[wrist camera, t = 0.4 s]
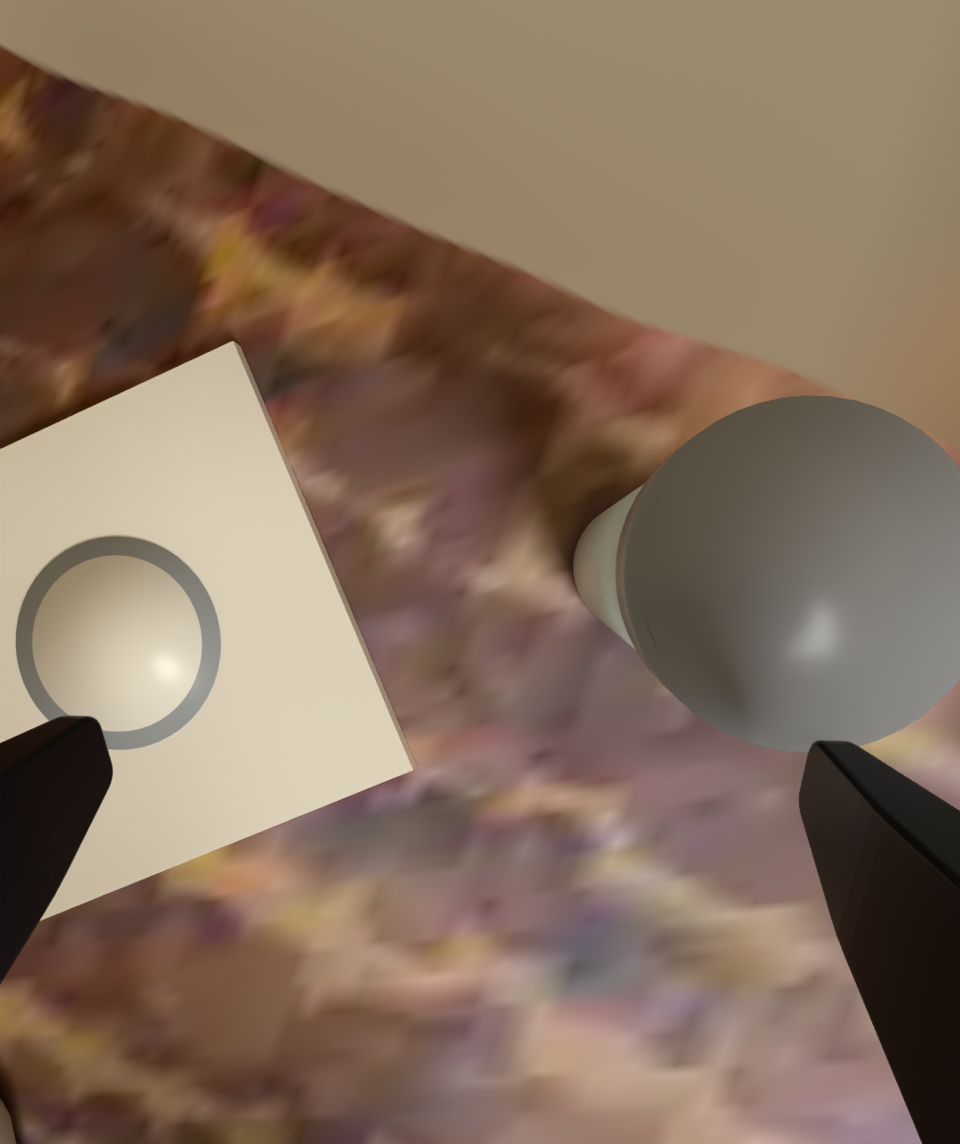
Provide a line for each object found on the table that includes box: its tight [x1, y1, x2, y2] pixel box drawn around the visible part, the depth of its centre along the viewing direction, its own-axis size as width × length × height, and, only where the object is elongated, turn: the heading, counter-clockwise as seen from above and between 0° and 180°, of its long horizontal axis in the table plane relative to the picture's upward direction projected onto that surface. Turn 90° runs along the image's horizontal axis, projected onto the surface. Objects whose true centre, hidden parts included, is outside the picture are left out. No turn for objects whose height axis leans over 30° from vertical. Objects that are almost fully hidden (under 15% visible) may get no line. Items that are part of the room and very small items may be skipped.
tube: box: [573, 396, 960, 753], centre depth 16 cm, size 5×5×14 cm
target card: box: [0, 341, 416, 920], centre depth 24 cm, size 16×16×1 cm
